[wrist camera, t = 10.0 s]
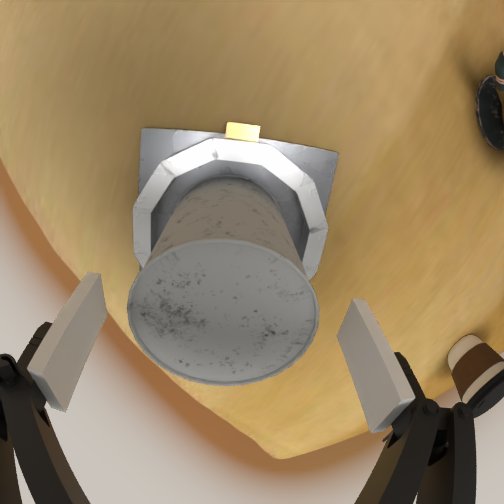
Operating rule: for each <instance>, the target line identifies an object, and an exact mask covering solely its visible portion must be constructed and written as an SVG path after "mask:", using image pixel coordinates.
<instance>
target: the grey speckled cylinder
mask: <svg viewBox="0 0 504 504" xmlns="http://www.w3.org/2000/svg"><path fill="white" fill-rule="evenodd" d="M127 313H128V320H129V326H130V328H131V331H132V333H133V335H134V337H135V340H136V341H137V343H138V344H139V345H140V347H141V348H142V349H143V351H144V352H145V353H146V354H147V355H148V356H149V357H150V358H151V359H152V360H153V361H154V362H156V363H157V364H158V365H159V366H161V367H162V368H164V369H166V370H167V371H169V372H171V373H172V374H174V375H177V376H179V377H182V378H184V379H187V380H189V381H193V382H197V383H202V384H206V385H216V386H236V385H245V384H250V383H255V382H259V381H262V380H265V379H267V378H270V377H272V376H275V375H277V374H279V373H280V372H282V371H284V370H285V369H287V368H289V367H290V366H292V365H293V364H294V363H295V362H296V361H297V360H298V359H299V358H300V357H301V356H303V354H304V353H305V352H306V350H307V349H308V347H309V346H310V345H311V343H312V341H313V339H314V336H315V334H316V331H317V328H318V322H319V305H318V301H317V296H316V292H315V290H314V288H313V287H312V285H311V283H310V281H309V280H308V278H307V275H306V273H305V270H304V268H303V265H302V263H301V260H300V258H299V255H298V253H297V250H296V248H295V246H294V243H293V241H292V238H291V236H290V234H289V231H288V229H287V226H286V224H285V222H284V219H283V217H282V213H281V210H280V207H279V205H278V204H277V202H276V200H275V198H274V197H273V196H272V194H271V193H270V192H269V191H268V190H267V189H266V188H265V187H263V186H262V185H260V184H259V183H257V182H256V181H254V180H252V179H249V178H246V177H243V176H240V175H231V174H223V175H214V176H211V177H208V178H205V179H203V180H200V181H199V182H197V183H196V184H194V185H193V186H191V187H190V188H189V189H188V190H187V191H186V192H185V193H184V194H183V195H182V196H181V198H180V200H179V201H178V203H177V205H176V207H175V209H174V212H173V214H172V216H171V218H170V219H169V221H168V223H167V225H166V226H165V228H164V230H163V232H162V234H161V235H160V237H159V239H158V241H157V243H156V245H155V247H154V248H153V250H152V252H151V254H150V256H149V258H148V260H147V262H146V264H145V266H144V268H143V269H142V270H141V271H140V272H139V273H138V275H137V277H136V279H135V281H134V283H133V285H132V287H131V289H130V291H129V297H128V304H127Z"/></svg>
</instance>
